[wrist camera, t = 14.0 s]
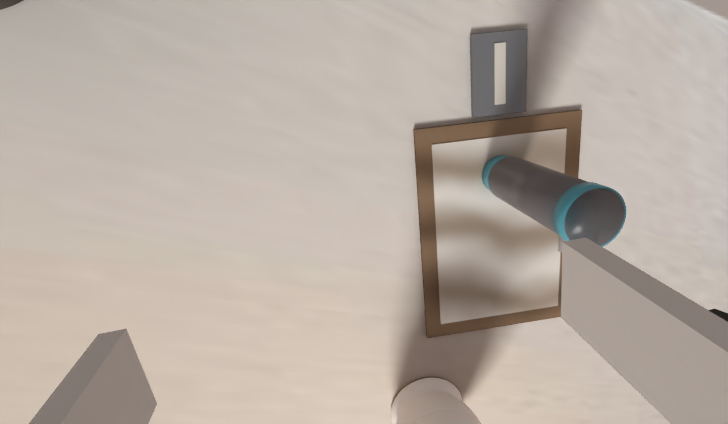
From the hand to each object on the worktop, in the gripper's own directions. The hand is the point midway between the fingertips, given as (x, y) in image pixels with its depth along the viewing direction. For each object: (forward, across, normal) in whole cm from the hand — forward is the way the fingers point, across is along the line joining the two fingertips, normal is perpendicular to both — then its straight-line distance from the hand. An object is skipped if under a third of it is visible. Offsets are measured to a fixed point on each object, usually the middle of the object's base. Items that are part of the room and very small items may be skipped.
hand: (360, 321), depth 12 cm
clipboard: (+26, +16, -11) cm, 32 cm away
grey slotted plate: (+26, +17, +4) cm, 32 cm away
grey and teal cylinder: (+26, +16, -5) cm, 31 cm away
